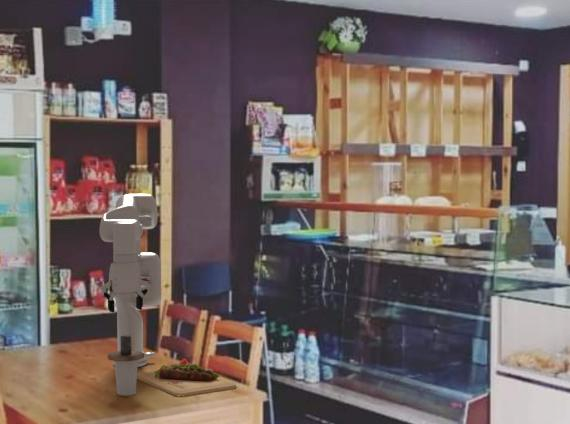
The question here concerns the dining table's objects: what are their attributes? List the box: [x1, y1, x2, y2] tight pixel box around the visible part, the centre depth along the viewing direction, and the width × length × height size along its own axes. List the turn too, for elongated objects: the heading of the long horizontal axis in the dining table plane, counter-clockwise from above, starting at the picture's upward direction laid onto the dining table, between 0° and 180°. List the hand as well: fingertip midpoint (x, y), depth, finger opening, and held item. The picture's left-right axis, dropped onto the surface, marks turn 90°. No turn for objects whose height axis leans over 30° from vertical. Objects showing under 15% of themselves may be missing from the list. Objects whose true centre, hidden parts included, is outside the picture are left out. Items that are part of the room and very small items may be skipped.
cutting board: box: [137, 358, 237, 397], centre depth 322 cm, size 35×23×8 cm
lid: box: [107, 336, 144, 362], centre depth 306 cm, size 12×12×7 cm
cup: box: [113, 360, 139, 396], centre depth 306 cm, size 8×8×12 cm
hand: (125, 310), depth 305 cm, fingers open, 9 cm apart
